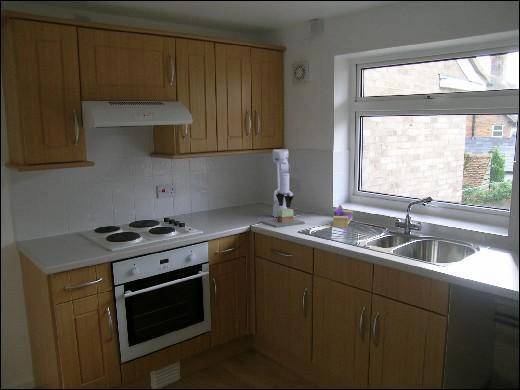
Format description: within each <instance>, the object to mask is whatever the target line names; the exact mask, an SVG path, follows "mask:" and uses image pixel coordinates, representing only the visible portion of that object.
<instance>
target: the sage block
mask: <svg viewBox="0 0 520 390" xmlns="http://www.w3.org/2000/svg"><path fill="white" fill-rule="evenodd" d="M277 216H281V217H285V216H293V217H294V209H292V208H287V209H280V210H277Z"/></svg>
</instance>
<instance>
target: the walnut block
mask: <svg viewBox="0 0 520 390" xmlns="http://www.w3.org/2000/svg"><path fill="white" fill-rule="evenodd" d="M276 219H277V221H278V222H282V223H284V222H291V221H293V219H294V215H293V216H285V217H281V216H277V218H276Z"/></svg>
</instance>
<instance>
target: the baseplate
mask: <svg viewBox="0 0 520 390" xmlns="http://www.w3.org/2000/svg"><path fill="white" fill-rule="evenodd" d="M260 223H261V224H264V223H265V224H264V225H267V226H270V227H273V228H283V227H289V226H290V227H291V226H297V225H298V226H299V225H304V224H305V221H303V220H299V219H296V218H293V221H291V222H284V223H282V222H278V221H277V218H270V219H262V220H260Z"/></svg>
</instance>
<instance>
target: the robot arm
mask: <svg viewBox="0 0 520 390" xmlns="http://www.w3.org/2000/svg"><path fill="white" fill-rule="evenodd" d="M272 161H273V164H275V165H276V171H277V173H276V175H277V189H275V190H274V191H273V203H274V204H273V205H272V216H274V217H273V218H276V217H277V210H280V209H290V208H291V204H292V201H293V200H294V199H293V198H294V193H293V192H292V191H291V190H290V174H291V164H290V163H289V162H288V161H289V150H288V148H286V149H285V148H284V149H280V148H279V149H275V148H274V149H272Z"/></svg>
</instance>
